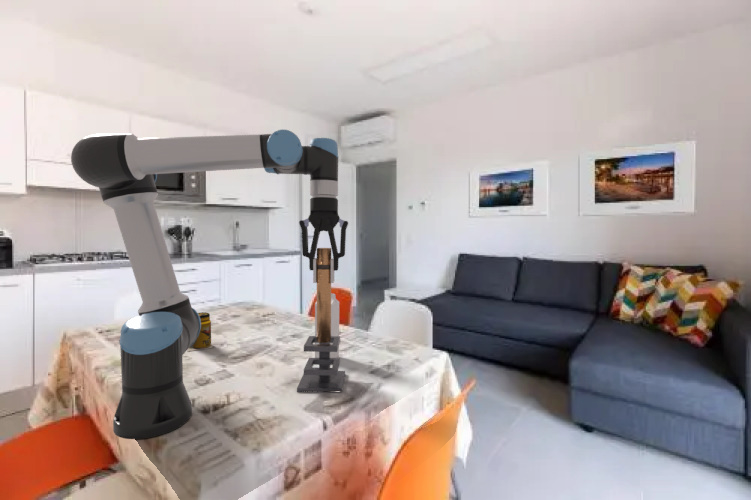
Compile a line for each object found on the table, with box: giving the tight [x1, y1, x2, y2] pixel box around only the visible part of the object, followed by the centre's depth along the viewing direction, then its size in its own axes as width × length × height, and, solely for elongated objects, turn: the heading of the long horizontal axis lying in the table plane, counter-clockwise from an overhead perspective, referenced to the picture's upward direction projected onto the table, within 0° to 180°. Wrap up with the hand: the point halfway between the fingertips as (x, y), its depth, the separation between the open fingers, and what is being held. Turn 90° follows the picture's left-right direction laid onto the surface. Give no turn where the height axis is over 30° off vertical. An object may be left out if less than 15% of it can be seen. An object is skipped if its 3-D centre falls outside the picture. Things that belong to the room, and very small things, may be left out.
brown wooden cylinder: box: [316, 247, 332, 343], centre depth 103 cm, size 4×4×26 cm
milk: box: [314, 292, 340, 358], centre depth 123 cm, size 6×6×22 cm
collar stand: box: [296, 335, 346, 393], centre depth 104 cm, size 12×12×13 cm
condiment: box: [186, 311, 214, 352], centre depth 133 cm, size 7×8×12 cm
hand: (323, 281), depth 103 cm, fingers closed on brown wooden cylinder, 4 cm apart
